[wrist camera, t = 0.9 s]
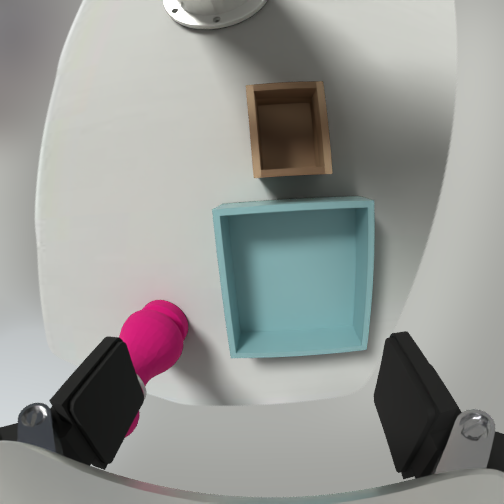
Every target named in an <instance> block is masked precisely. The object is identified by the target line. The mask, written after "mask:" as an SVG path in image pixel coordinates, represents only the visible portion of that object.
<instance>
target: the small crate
mask: <svg viewBox="0 0 504 504" xmlns="http://www.w3.org/2000/svg"><path fill="white" fill-rule="evenodd" d="M246 93H247V105H248V116H249V127H250V139H251V150H252V162H253V174H254V178H262V177H276V176H293V175H313V174H332V161H331V149H330V137H329V127H328V118H327V109H326V100H325V92H324V85H323V81H311V82H282V83H267V84H255V85H246Z"/></svg>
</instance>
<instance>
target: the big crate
mask: <svg viewBox="0 0 504 504" xmlns="http://www.w3.org/2000/svg"><path fill="white" fill-rule="evenodd" d="M212 212H213V222H214V231H215V240H216V249H217V258H218V266H219V274H220V282H221V290H222V298H223V306H224V313H225V321H226V328H227V335H228V342H229V349H230V356H231V358H265V357H289V356H306V355H319V354H331V353H341V352H351V351H360V350H367V342H368V334H369V324H370V314H371V302H372V289H373V270H374V232H375V220H374V200H371V199H368V198H364V197H361V196H342V197H318V198H298V199H281V200H266V201H252V202H239V203H227V204H221V205H220V206H218V207H216V208H214V209H212Z"/></svg>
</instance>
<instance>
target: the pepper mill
mask: <svg viewBox="0 0 504 504" xmlns="http://www.w3.org/2000/svg"><path fill="white" fill-rule="evenodd" d="M187 333H188V322H187V319H186V317H185V315H184V313H183V312H182V311H181V310H180V309H179V308H178V307H177V306H176V305H174V304H172V303H170V302H168V301H164V300H155V301H152V302H150V303H148V304H147V305H146V306H145V307H144V308H143V309H142V310H140V311H137V312H135V313H133V314H132V315H131V316H130V317H129V318H128V319H127V320H126V322H125V323H124V325H123V327H122V329H121V333H120V336H119V338H121V339H122V340H123V342H125V343H126V345H127V347H128V351H129V354H130V357H131V360H132V363H133V366H134V369H135V372H136V375H137V377H138V380H139V383H140V386H141V388H142V391H143V394H144V399H145V397H146V388H145V386H146V384H147V383H148V381H149V380H150V379H151V378H153V377H154V376H156V375H158V374H160V373H162V372H165V371H166V370H168V369H169V368H170V367H172V366H173V365H174V364H175V363H176V361H177V360H178V359H179V357H180V355H181V354H182V350H183V341H184V339H185V337H186V335H187ZM138 420H139V411H138V413H137V415H136V417H135V419H134V421H133V423H132V425H131V426H130V428H129V430H128V432H127V434H126V436H125V437H127V436H128V435H130V434H131V433H132V432H133V430H134V429H135V427H136V426H137V424H138Z"/></svg>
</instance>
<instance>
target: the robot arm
mask: <svg viewBox="0 0 504 504" xmlns="http://www.w3.org/2000/svg"><path fill="white" fill-rule="evenodd" d="M266 1H267V0H163V3H164V7H165V9H166V11H167V13H168V14H169V15H170V17H171V18H172V19H173V20H175V21H176V22H178V23H179V24H181V25H183V26H186V27H190V28H195V29H217V28H223V27H227V26H231V25H234V24H237V23H239V22H242V21H244V20H246V19H247V18H249V17H251V16H252V15H254V14H255V13H256V12H258V11H259V10H260V9H261V8H262V7H263V6H264V5H265V3H266ZM143 401H144V394H143V391H142V388H141V386H140V383H139V380H138V377H137V375H136V372H135V369H134V366H133V363H132V360H131V357H130V354H129V351H128V347H127V345H126V343H125V342H123V340H122V339H121V338H117V337H105V338H104V339H103V340H102V342H101V343H100V344H99V345H98V346H97V347H96V348H95V349H94V350H93V351H92V353H91V354H90V355H89V356H88V357H87V358H86V359H85V360H84V361H83V363H82V364H81V365H80V366H79V367H78V368H77V369H76V371H75V372H74V373H73V374H72V375H71V376H70V377H69V378H68V380H67V381H66V382H65V383H64V384H63V385H62V386H61V388H60V389H59V390H58V391H57V392H56V394H55V395H54V396H53V397H52V398H51V399H50V402H51V404H52V407H51V408H49V407H48V406H47V405H46V404H43V403H33V404H30V405H28V406H26V407H25V408H24V409H23V410H22V411H21V412H20V414H19V416H18V423H16V424H12V425H9V426H4V427H0V504H504V434H502V433H499V432H495V423H494V421H493V419H492V418H491V417H490V415H488V414H487V413H486V412H483V411H481V410H475V409H472V410H466V411H464V412H461V411H460V409H459V407H458V406H457V404H456V402H455V401H454V399H453V397H452V396H451V394H450V393H449V391H448V389H447V388H446V386H445V385H444V383H443V382H442V380H441V379H440V377H439V376H438V374H437V372H436V371H435V369H434V368H433V366H432V365H430V364H429V363H428V361H427V359H426V358H425V356H424V355H423V353H422V352H421V350H420V349H419V347H418V346H417V345H416V343H415V342H414V340H413V339H412V337H411V336H410V334H409V333H408V332H399V333H392V334H391V335H390V338H387V339H386V340H385V345H384V350H383V356H382V361H381V366H380V371H379V375H378V379H377V384H376V388H375V392H374V403H375V406H376V409H377V412H378V415H379V418H380V421H381V423H382V427H383V429H384V433H385V435H386V439H387V442H388V445H389V448H390V452H391V455H392V458H393V462H394V465H395V468H396V471H397V472H398V473H399V472H401V473H402V476H403V479H406V478H410V477H413V476H415V479H412V480H408V481H404V482H400V483H395V484H391V485H386V486H381V487H376V488H371V489H365V490H359V491H352V492H345V493H338V494H329V495H319V496H305V497H282V498H281V497H271V498H270V497H268V498H267V497H239V496H225V495H215V494H206V493H199V492H192V491H185V490H179V489H174V488H168V487H163V486H158V485H154V484H149V483H145V482H141V481H137V480H133V479H129V478H126V477H123V476H118V475H116V474H113V473H109V472H106V471H103V470H100V469H97V468H94V467H92V466H90V465H91V464H92V465H93V466H95V467H98V468H101V469H104V470H105V468H106V467H107V464H110V463H111V462H112V461H113V459H114V457H115V455H116V453H117V451H118V449H119V448H120V445H121V444H122V442H123V440H124V438H125V436H126V434H127V432H128V430H129V428H130V426H131V425H132V423H133V421H134V419H135V417H136V415H137V413H138V411H139V409H140V407H141V406H142V404H143Z"/></svg>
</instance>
